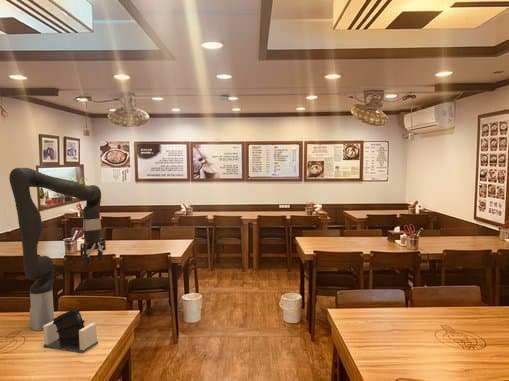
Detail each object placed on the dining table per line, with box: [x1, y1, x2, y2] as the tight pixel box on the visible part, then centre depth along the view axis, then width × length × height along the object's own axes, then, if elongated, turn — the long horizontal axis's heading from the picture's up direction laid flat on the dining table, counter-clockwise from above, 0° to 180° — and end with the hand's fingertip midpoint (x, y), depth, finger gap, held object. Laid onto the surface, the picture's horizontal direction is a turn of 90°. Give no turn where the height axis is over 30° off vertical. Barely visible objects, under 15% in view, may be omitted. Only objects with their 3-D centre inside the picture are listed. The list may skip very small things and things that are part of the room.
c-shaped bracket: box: [42, 321, 98, 350], centre depth 164 cm, size 20×8×8 cm, turn 73°
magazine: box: [53, 306, 85, 345], centre depth 164 cm, size 4×13×15 cm, turn 80°
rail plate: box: [42, 339, 99, 354], centre depth 164 cm, size 20×9×1 cm, turn 73°
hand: (94, 262), depth 182 cm, fingers open, 8 cm apart
